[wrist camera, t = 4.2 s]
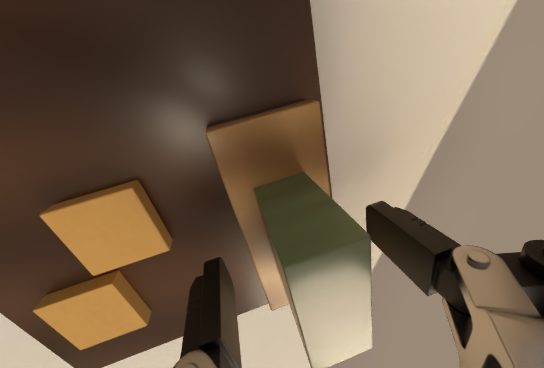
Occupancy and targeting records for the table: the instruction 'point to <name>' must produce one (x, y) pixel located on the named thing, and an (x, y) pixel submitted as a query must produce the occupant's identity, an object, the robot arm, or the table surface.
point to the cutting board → (135, 140)
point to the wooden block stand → (298, 226)
